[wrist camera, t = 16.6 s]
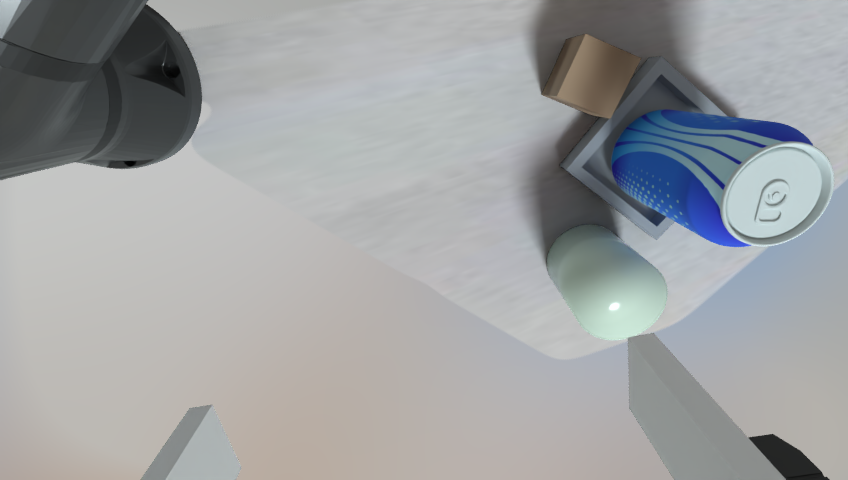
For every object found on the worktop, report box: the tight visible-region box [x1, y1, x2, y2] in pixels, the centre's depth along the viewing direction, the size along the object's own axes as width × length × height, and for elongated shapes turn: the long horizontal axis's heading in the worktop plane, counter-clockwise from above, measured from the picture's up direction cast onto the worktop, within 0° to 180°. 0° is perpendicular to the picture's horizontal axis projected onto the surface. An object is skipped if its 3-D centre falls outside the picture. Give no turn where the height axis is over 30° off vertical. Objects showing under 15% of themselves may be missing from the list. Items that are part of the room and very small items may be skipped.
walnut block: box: [542, 34, 641, 119], centre depth 37 cm, size 5×5×5 cm
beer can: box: [611, 109, 834, 247], centre depth 34 cm, size 8×8×16 cm
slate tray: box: [560, 56, 728, 240], centre depth 41 cm, size 12×12×2 cm
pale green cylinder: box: [547, 225, 667, 340], centre depth 42 cm, size 8×8×9 cm
